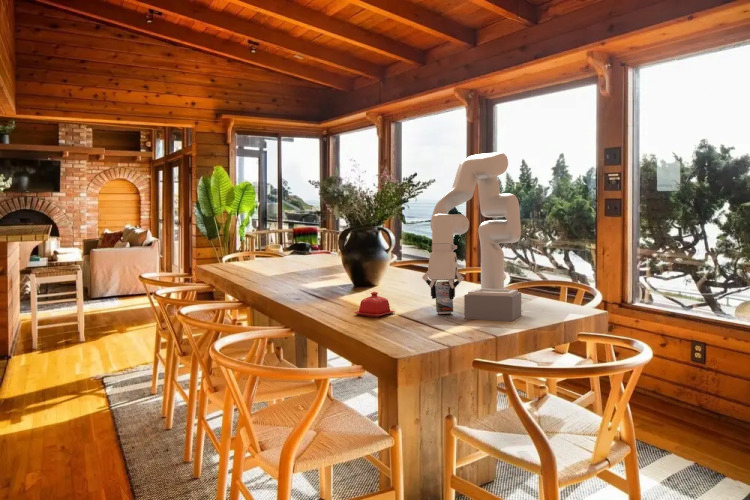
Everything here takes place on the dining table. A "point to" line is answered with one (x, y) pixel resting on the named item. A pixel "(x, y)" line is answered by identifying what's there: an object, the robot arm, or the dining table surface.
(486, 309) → the stand
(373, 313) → the butter dish
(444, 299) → the beverage can
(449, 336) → the dining table surface
